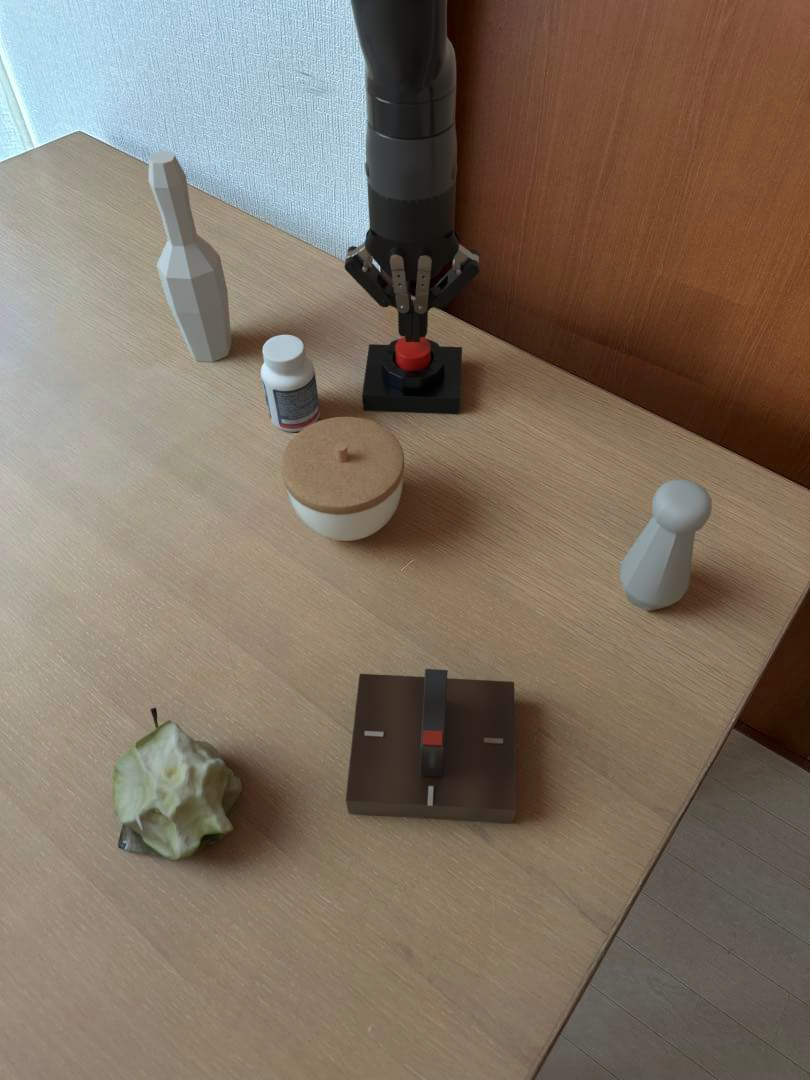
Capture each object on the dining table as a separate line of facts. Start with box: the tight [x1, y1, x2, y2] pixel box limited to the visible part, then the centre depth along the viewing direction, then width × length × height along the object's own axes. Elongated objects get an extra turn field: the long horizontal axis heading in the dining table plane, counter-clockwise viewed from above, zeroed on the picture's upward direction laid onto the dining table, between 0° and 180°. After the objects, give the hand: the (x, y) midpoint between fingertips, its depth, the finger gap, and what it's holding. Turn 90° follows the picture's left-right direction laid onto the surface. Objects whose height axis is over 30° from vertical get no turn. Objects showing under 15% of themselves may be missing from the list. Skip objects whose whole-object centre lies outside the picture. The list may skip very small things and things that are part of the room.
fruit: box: [112, 707, 242, 862], centre depth 59 cm, size 9×9×8 cm
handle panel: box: [345, 673, 517, 825], centre depth 62 cm, size 12×10×3 cm
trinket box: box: [280, 416, 405, 542], centre depth 74 cm, size 11×11×9 cm
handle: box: [420, 668, 448, 777], centre depth 59 cm, size 6×2×5 cm, turn 176°
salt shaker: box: [619, 479, 713, 612], centre depth 67 cm, size 6×6×13 cm
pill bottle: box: [260, 334, 321, 433], centre depth 83 cm, size 5×5×9 cm
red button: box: [395, 336, 431, 371], centre depth 85 cm, size 4×4×2 cm
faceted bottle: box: [148, 150, 233, 363], centre depth 84 cm, size 6×6×22 cm
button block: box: [361, 337, 463, 415], centre depth 87 cm, size 10×8×4 cm
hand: (412, 336), depth 83 cm, fingers closed
